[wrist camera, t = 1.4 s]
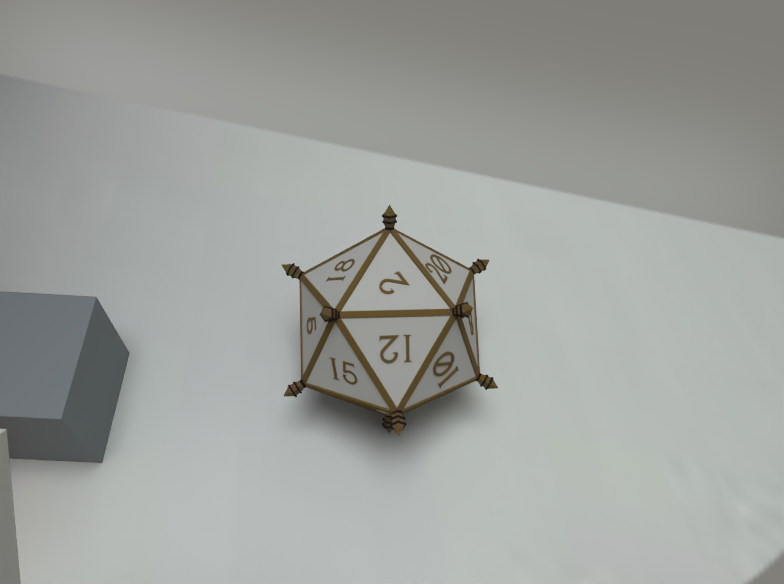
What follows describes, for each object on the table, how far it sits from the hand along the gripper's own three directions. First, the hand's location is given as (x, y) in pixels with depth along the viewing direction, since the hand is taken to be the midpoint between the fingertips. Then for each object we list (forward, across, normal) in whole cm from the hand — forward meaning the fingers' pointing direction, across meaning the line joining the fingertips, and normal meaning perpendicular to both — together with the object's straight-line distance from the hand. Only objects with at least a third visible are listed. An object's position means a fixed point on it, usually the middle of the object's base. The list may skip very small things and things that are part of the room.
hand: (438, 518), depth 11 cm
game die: (+21, 0, -5) cm, 21 cm away
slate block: (+19, -14, -6) cm, 25 cm away
